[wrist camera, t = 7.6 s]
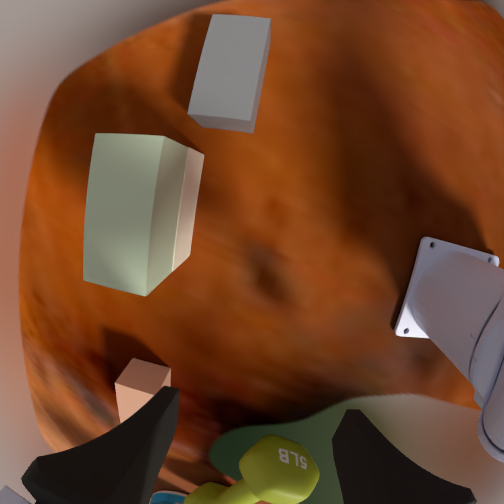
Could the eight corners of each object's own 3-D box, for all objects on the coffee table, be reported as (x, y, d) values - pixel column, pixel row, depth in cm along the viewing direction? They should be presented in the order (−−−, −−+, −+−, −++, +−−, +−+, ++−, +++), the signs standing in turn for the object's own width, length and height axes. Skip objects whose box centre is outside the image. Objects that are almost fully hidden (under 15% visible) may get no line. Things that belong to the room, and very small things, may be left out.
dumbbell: (258, 419, 23) (254, 480, 16) (323, 444, 24) (332, 499, 17) (184, 481, 27) (172, 524, 20) (238, 500, 27) (234, 542, 20)
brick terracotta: (171, 366, 23) (156, 395, 19) (170, 420, 24) (159, 448, 20) (133, 356, 23) (114, 382, 19) (137, 410, 24) (123, 437, 20)
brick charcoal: (270, 46, 17) (270, 18, 13) (253, 133, 18) (250, 120, 14) (221, 41, 17) (212, 14, 13) (202, 127, 18) (187, 113, 14)
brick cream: (204, 154, 19) (189, 147, 15) (189, 255, 20) (172, 271, 16) (157, 150, 19) (132, 142, 15) (144, 246, 20) (119, 260, 16)
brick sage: (188, 147, 15) (163, 136, 11) (172, 271, 16) (145, 296, 12) (132, 143, 15) (95, 133, 11) (119, 260, 16) (83, 280, 12)
